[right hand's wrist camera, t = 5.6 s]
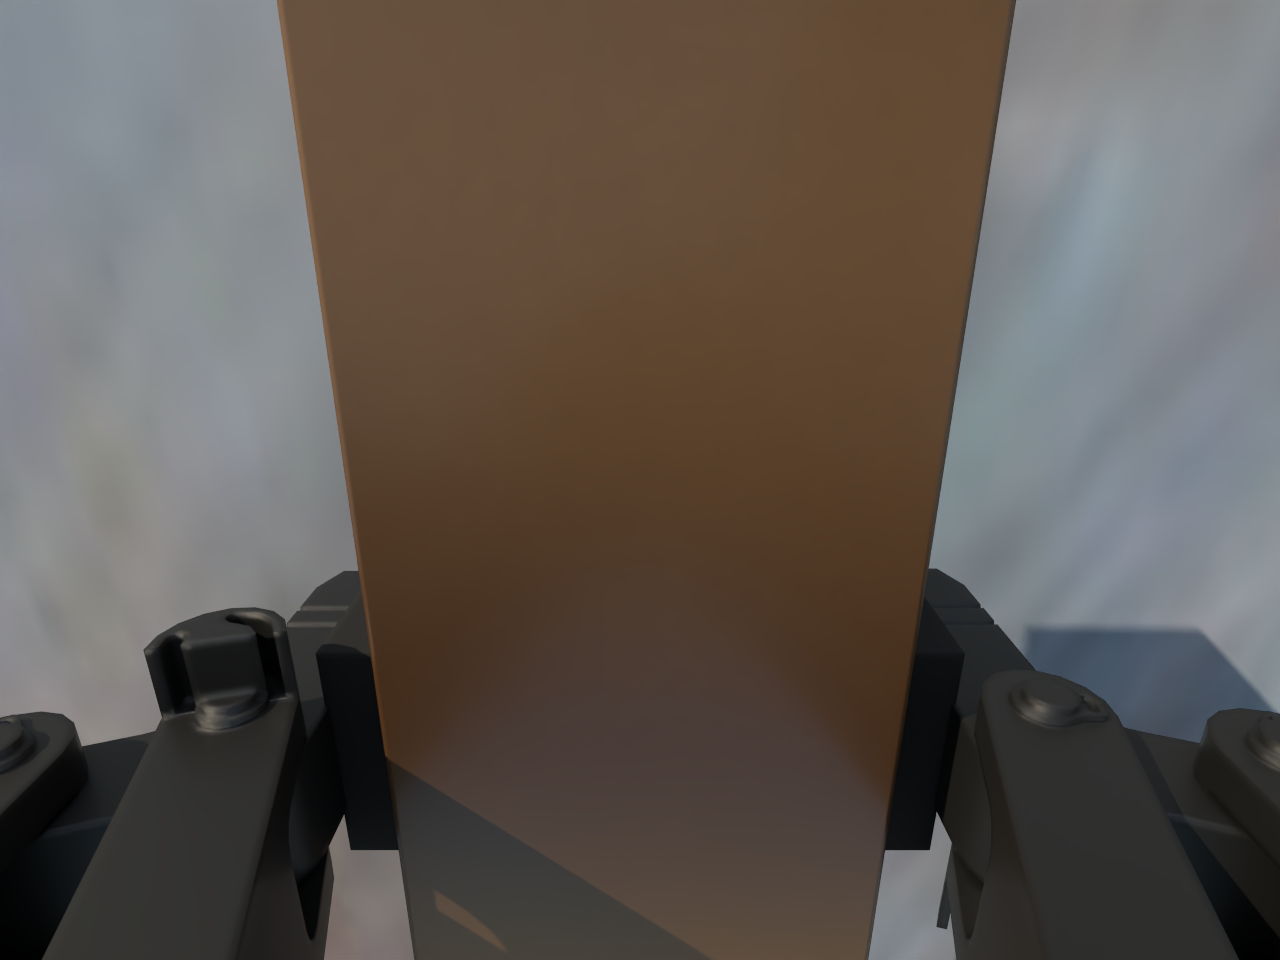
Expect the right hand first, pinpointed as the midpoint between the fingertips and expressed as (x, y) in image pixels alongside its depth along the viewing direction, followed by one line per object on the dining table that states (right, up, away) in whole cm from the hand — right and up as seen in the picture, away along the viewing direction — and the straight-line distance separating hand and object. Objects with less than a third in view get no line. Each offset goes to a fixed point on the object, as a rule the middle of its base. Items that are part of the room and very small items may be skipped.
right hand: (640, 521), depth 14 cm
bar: (0, -32, +12) cm, 34 cm away
